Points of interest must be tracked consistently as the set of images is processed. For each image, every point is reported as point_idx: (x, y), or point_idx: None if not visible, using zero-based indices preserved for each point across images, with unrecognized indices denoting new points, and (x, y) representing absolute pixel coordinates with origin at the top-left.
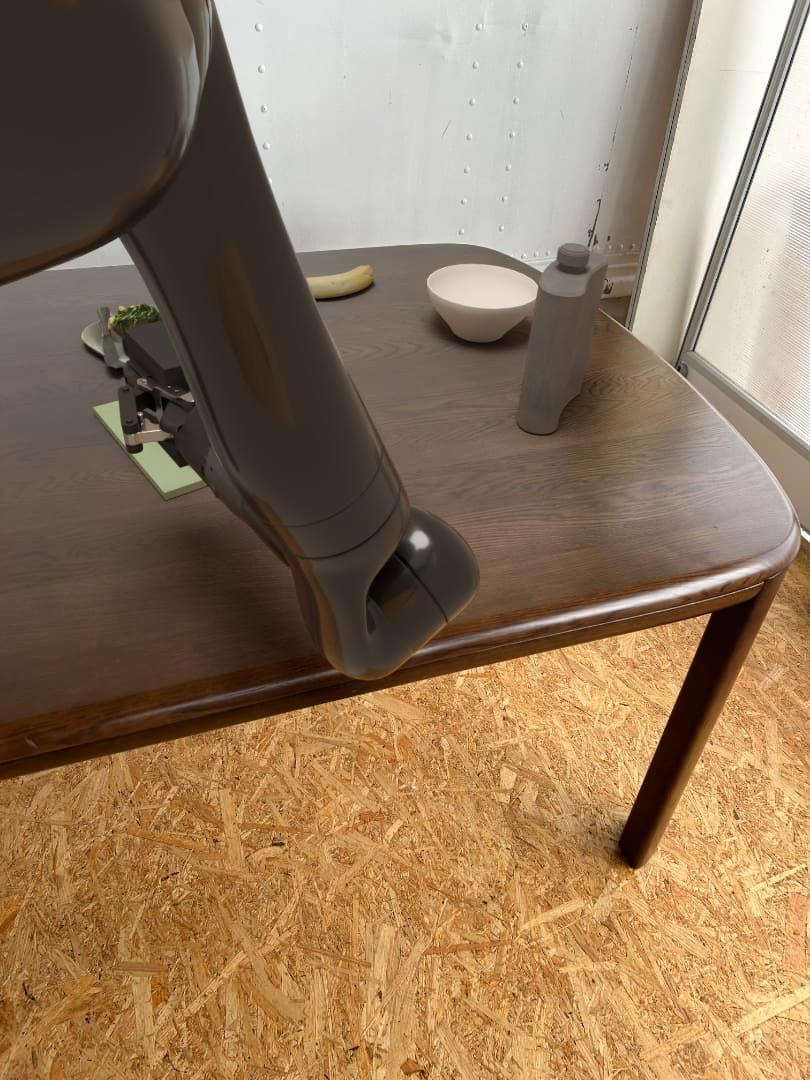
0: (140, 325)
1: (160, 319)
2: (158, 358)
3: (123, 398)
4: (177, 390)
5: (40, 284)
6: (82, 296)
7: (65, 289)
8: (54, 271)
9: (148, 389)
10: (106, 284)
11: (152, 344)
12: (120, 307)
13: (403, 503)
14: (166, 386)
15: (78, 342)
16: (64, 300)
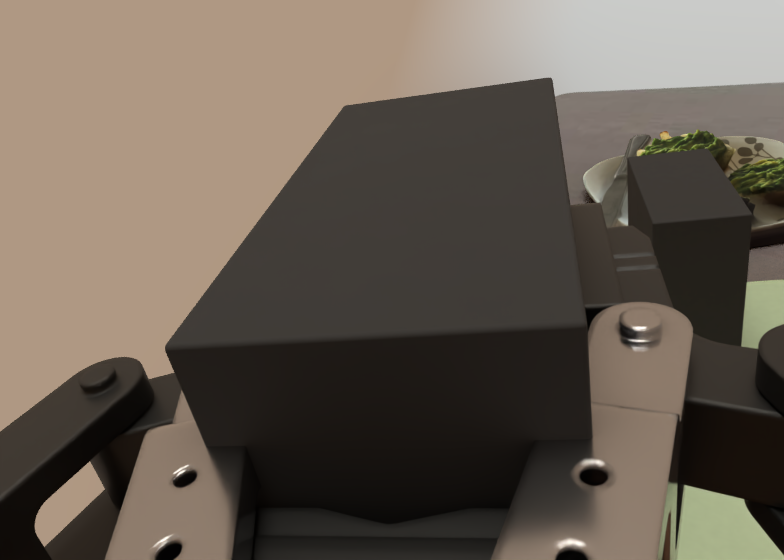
0: (644, 155)
1: (726, 159)
2: (258, 250)
3: (9, 443)
4: (186, 538)
5: (583, 105)
6: (628, 122)
7: (611, 112)
8: (611, 91)
9: (178, 417)
10: (672, 108)
11: (349, 169)
12: (663, 135)
13: None
14: (189, 457)
15: (582, 184)
16: (600, 126)
